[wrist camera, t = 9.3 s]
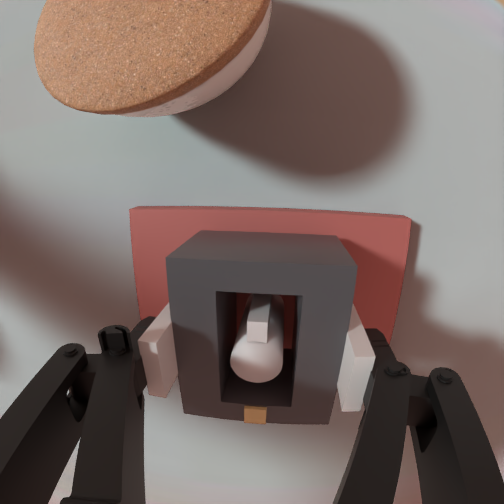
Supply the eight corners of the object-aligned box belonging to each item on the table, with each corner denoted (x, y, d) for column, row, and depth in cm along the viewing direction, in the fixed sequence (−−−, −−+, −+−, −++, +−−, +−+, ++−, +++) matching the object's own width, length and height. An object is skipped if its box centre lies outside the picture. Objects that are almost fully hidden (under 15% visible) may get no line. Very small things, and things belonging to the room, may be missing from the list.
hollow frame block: (200, 230, 16) (163, 258, 11) (336, 235, 15) (358, 267, 10) (206, 358, 18) (183, 415, 13) (321, 365, 17) (328, 427, 12)
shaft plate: (154, 357, 21) (116, 417, 15) (138, 206, 18) (72, 228, 12) (375, 370, 19) (398, 439, 13) (403, 215, 16) (460, 243, 10)
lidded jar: (299, 103, 15) (314, 37, 7) (126, 153, 17) (13, 156, 8) (253, -35, 13) (230, -131, 4) (104, 19, 15) (18, -31, 6)
